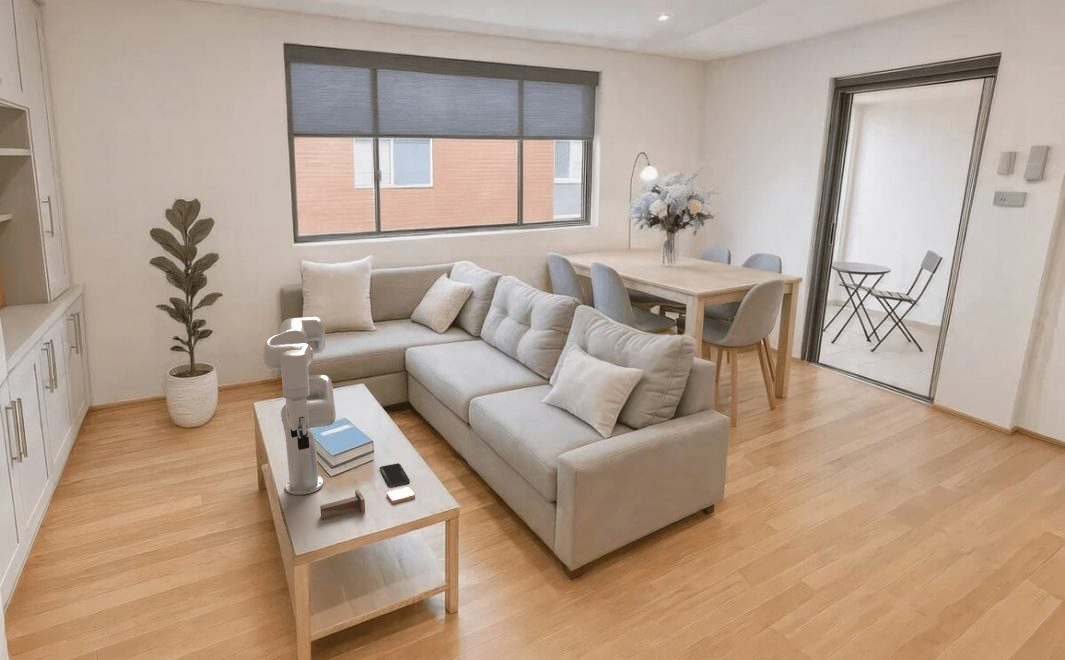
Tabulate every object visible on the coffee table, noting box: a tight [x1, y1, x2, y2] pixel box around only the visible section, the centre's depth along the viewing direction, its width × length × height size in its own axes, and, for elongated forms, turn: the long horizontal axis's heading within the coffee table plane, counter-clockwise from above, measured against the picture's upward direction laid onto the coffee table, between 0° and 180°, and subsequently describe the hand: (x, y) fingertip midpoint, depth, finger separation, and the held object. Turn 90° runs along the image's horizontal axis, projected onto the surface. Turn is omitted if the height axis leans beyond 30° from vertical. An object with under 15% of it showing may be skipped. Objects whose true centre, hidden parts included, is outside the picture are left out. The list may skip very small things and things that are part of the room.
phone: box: [379, 463, 411, 488], centre depth 229 cm, size 8×1×15 cm
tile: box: [385, 486, 416, 505], centre depth 215 cm, size 6×2×8 cm
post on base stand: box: [319, 489, 366, 521], centre depth 204 cm, size 7×13×5 cm, turn 122°
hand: (300, 442), depth 194 cm, fingers open, 9 cm apart
